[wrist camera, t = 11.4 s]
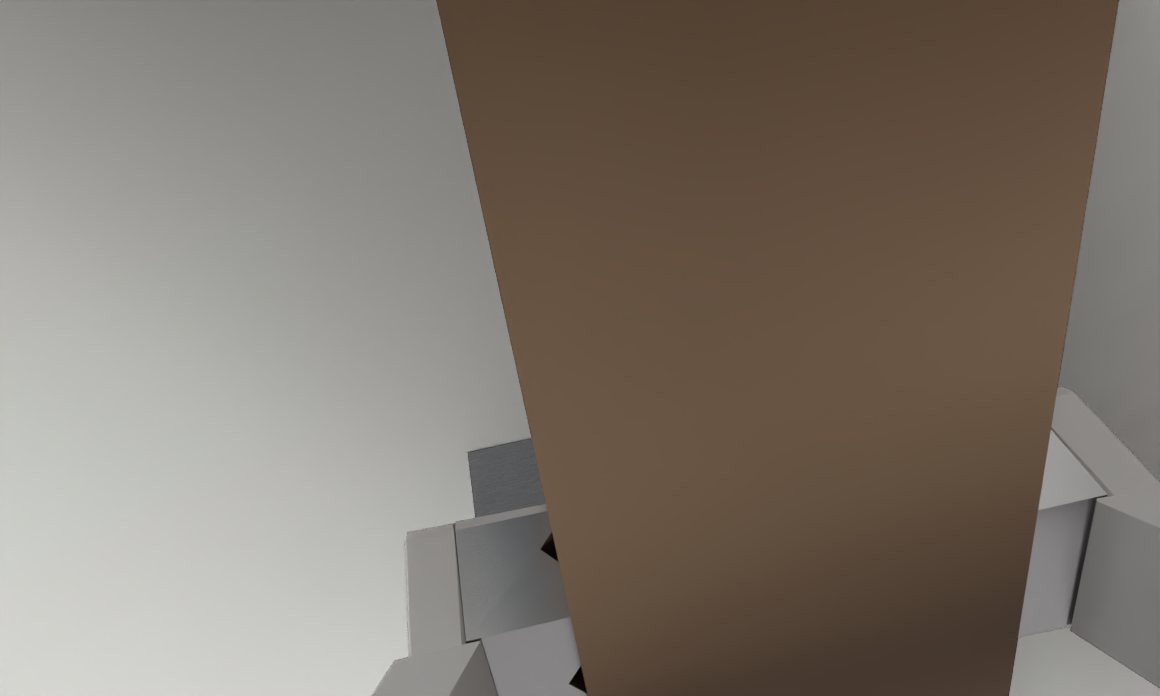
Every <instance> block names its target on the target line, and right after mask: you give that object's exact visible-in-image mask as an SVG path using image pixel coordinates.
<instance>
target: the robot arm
mask: <svg viewBox="0 0 1160 696" xmlns="http://www.w3.org/2000/svg"><path fill="white" fill-rule="evenodd" d="M404 547H405V574H406V601H407V628H408V655H409V657H406V658H402V659H398V660H394V662H393V663H392V665H391V666H390V668H389V669H388V671H387V672H386V674H385V675H384V677H383V678H382V680H381V682H380V683H379V685H378V686H377V688H376V689H375V691H374V692H373V694H372V695H371V696H588V695H587V690H586V686H585V681H584V676H583V672H582V667H581V663H580V658H579V653H578V649H577V644H576V640H575V635H574V630H573V626H572V621H571V617H570V612H569V607H568V603H567V598H566V594H565V589H564V584H563V580H562V575H561V571H560V566H559V561H558V557H557V552H556V548H555V543H554V539H553V534H552V529H551V525H550V520H549V516H548V511H547V506H546V504H543V505H537V506H532V507H527V508H522V509H517V510H512V511H507V512H502V513H497V514H492V515H487V516H482V517H477V518H472V519H467V520H462V521H457V522H456V523H453V524H448V525H443V526H437V527H432V528H427V529H422V530H416V531H411V532H407V536H406V540H405V544H404ZM1066 627H1071V629H1070V631H1072V632H1073V633H1075V634H1076V635H1078V636H1079V637H1081V638H1082V639H1084V640H1086V641H1087V642H1089V643H1090V644H1092V645H1093V646H1095V647H1096V648H1098V649H1099V650H1101V651H1103V652H1104V653H1106V654H1107V655H1109V656H1110V657H1112V658H1113V659H1115V660H1116V661H1118V662H1120V663H1121V664H1123V665H1124V666H1126V667H1127V668H1129V669H1130V670H1132V671H1134V672H1135V673H1137V674H1138V675H1140V676H1141V677H1143V678H1144V679H1146V680H1147V681H1149V682H1151V683H1152V684H1154V685H1155V686H1157V687H1158V688H1160V482H1159V481H1158V480H1157V479H1156V478H1155V477H1154V476H1153V475H1152V474H1151V473H1150V472H1149V471H1148V469H1147V468H1146V467H1145V466H1144V465H1143V464H1142V463H1141V462H1140V461H1139V460H1138V459H1137V458H1136V457H1135V456H1134V455H1133V454H1132V453H1131V452H1130V451H1129V449H1128V448H1127V447H1126V446H1125V445H1124V444H1123V443H1122V442H1121V441H1120V440H1119V439H1118V438H1117V437H1116V436H1115V435H1114V434H1113V433H1112V432H1111V431H1110V429H1109V428H1108V427H1107V426H1106V425H1105V424H1104V423H1103V422H1102V421H1101V420H1100V419H1099V418H1098V417H1097V416H1096V415H1095V414H1094V413H1093V412H1092V410H1091V409H1090V408H1089V407H1088V406H1087V405H1086V404H1085V403H1084V402H1083V401H1082V400H1081V399H1080V398H1079V397H1078V396H1077V395H1076V394H1075V393H1074V392H1073V391H1072V390H1069V389H1067V388H1065V387H1058V388H1057V394H1056V401H1055V407H1054V413H1053V419H1052V426H1051V432H1050V438H1049V445H1048V451H1047V457H1046V464H1045V470H1044V476H1043V483H1042V489H1041V495H1040V502H1039V508H1038V514H1037V521H1036V527H1035V533H1034V540H1033V546H1032V552H1031V559H1030V565H1029V571H1028V578H1027V584H1026V590H1025V596H1024V603H1023V609H1022V615H1021V622H1020V628H1019V634H1018V637H1023V636H1027V635H1032V634H1037V633H1042V632H1047V631H1052V630H1056V629H1061V628H1066Z"/></svg>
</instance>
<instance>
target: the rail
mask: <svg viewBox="0 0 1160 696" xmlns="http://www.w3.org/2000/svg"><path fill="white" fill-rule="evenodd" d="M436 1H437V5H438V10H439V15H440V19H441V24H442V28H443V33H444V38H445V42H446V47H447V51H448V56H449V61H450V65H451V70H452V74H453V79H454V83H455V88H456V93H457V97H458V102H459V106H460V111H461V116H462V120H463V125H464V129H465V134H466V139H467V143H468V148H469V152H470V157H471V162H472V166H473V171H474V175H475V180H476V185H477V189H478V194H479V198H480V203H481V208H482V212H483V217H484V221H485V226H486V231H487V235H488V240H489V244H490V249H491V254H492V258H493V263H494V267H495V272H496V277H497V281H498V286H499V290H500V295H501V300H502V304H503V309H504V313H505V318H506V322H507V327H508V332H509V336H510V341H511V345H512V350H513V355H514V359H515V364H516V368H517V373H518V378H519V382H520V387H521V391H522V396H523V401H524V405H525V410H526V414H527V419H528V424H529V428H530V433H531V437H532V442H533V447H534V451H535V456H536V460H537V465H538V470H539V474H540V479H541V483H542V488H543V493H544V497H545V502H546V506H547V511H548V516H549V520H550V525H551V529H552V534H553V539H554V543H555V548H556V552H557V557H558V561H559V566H560V571H561V575H562V580H563V584H564V589H565V594H566V598H567V603H568V607H569V612H570V617H571V621H572V626H573V630H574V635H575V640H576V644H577V649H578V653H579V658H580V663H581V667H582V672H583V676H584V681H585V686H586V690H587V695H588V696H1009V691H1010V685H1011V679H1012V672H1013V666H1014V660H1015V653H1016V647H1017V641H1018V634H1019V628H1020V622H1021V615H1022V609H1023V603H1024V596H1025V590H1026V584H1027V578H1028V571H1029V565H1030V559H1031V552H1032V546H1033V540H1034V533H1035V527H1036V521H1037V514H1038V508H1039V502H1040V495H1041V489H1042V483H1043V476H1044V470H1045V464H1046V457H1047V451H1048V445H1049V438H1050V432H1051V426H1052V419H1053V413H1054V407H1055V401H1056V394H1057V388H1058V382H1059V375H1060V369H1061V363H1062V356H1063V350H1064V344H1065V337H1066V331H1067V325H1068V318H1069V312H1070V306H1071V299H1072V293H1073V287H1074V280H1075V274H1076V268H1077V261H1078V255H1079V249H1080V242H1081V236H1082V230H1083V224H1084V217H1085V211H1086V205H1087V198H1088V192H1089V186H1090V179H1091V173H1092V167H1093V160H1094V154H1095V148H1096V141H1097V135H1098V129H1099V122H1100V116H1101V110H1102V103H1103V97H1104V91H1105V84H1106V78H1107V72H1108V65H1109V59H1110V53H1111V47H1112V40H1113V34H1114V28H1115V21H1116V15H1117V9H1118V2H1119V0H436Z"/></svg>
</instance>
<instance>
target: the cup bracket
mask: <svg viewBox="0 0 1160 696" xmlns="http://www.w3.org/2000/svg"><path fill="white" fill-rule="evenodd" d="M468 460H469V468H470V476H471V485H472V493H473V502H474V510H475V518H477V517H482V516H487V515H492V514H497V513H502V512H507V511H512V510H517V509H522V508H527V507H532V506H537V505H543V504H546V502H545V497H544V493H543V488H542V483H541V479H540V474H539V470H538V465H537V460H536V456H535V451H534V447H533V442H532V439H527V440H523V441H518V442H514V443H509V444H504V445H500V446H495V447H491V448H486V449H482V450H477V451H472V452H468Z"/></svg>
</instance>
